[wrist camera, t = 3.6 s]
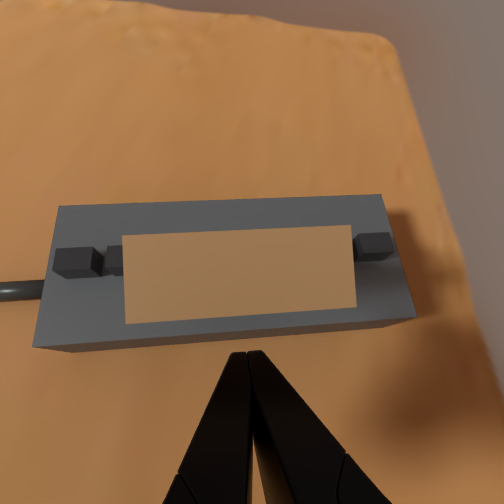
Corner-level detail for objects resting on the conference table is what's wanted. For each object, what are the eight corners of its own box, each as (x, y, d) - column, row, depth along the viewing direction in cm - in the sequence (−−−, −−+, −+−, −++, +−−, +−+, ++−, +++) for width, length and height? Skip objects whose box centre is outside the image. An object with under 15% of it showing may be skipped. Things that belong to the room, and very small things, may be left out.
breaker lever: (282, 283, 16) (356, 307, 7) (183, 289, 16) (125, 324, 7) (279, 247, 17) (351, 224, 7) (182, 252, 16) (122, 235, 7)
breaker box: (382, 327, 20) (433, 311, 15) (-63, 363, 17) (-181, 359, 12) (357, 223, 23) (391, 181, 18) (-26, 240, 20) (-109, 197, 15)
